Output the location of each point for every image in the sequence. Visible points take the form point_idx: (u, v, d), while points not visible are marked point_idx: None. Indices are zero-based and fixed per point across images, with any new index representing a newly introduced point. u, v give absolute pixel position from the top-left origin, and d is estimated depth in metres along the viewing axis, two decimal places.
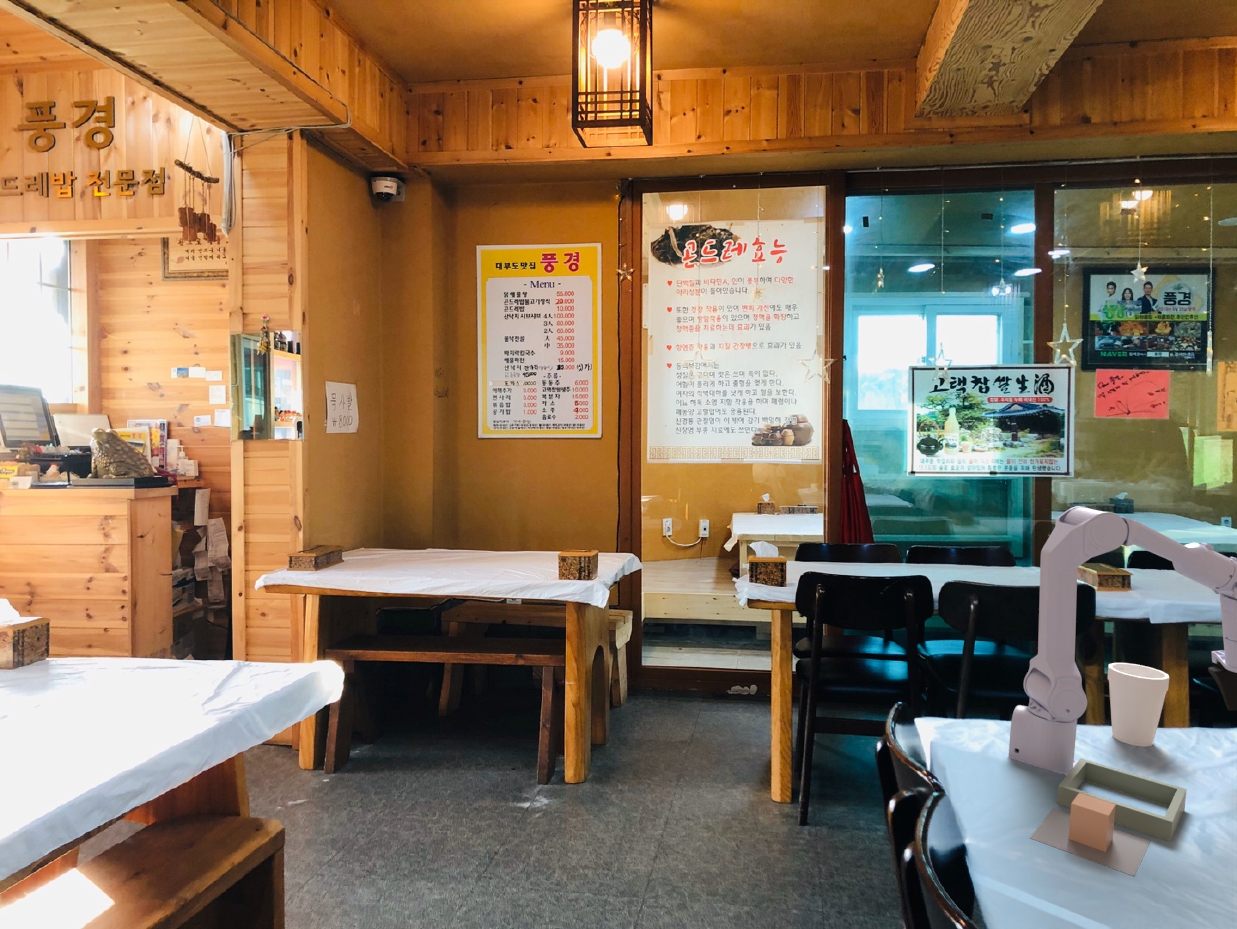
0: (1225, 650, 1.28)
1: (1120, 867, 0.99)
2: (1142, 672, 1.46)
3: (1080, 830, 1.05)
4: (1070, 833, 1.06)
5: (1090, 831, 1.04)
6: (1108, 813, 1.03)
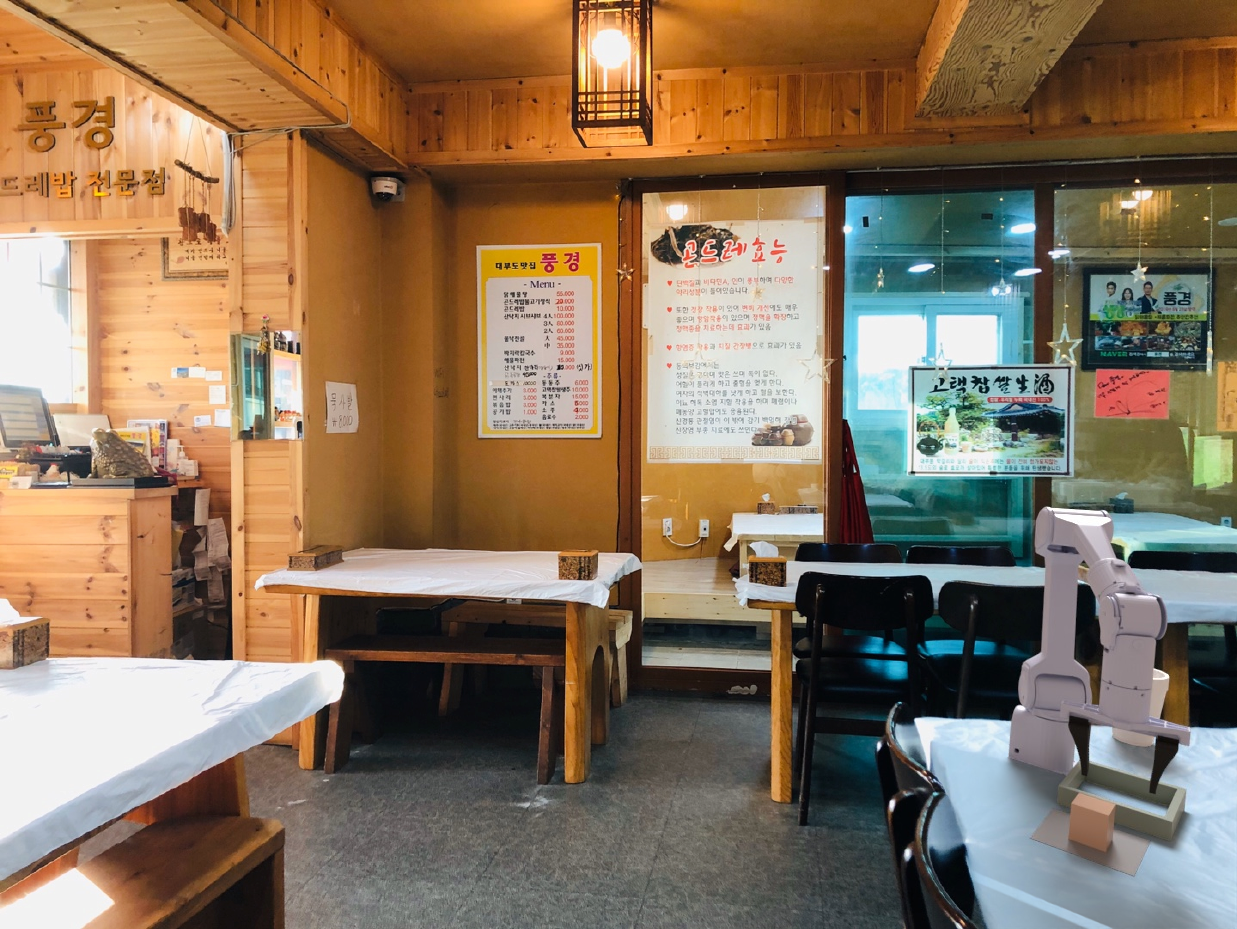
0: None
1: (1120, 867, 0.99)
2: None
3: (1080, 830, 1.05)
4: (1070, 833, 1.06)
5: (1090, 831, 1.04)
6: (1108, 813, 1.03)
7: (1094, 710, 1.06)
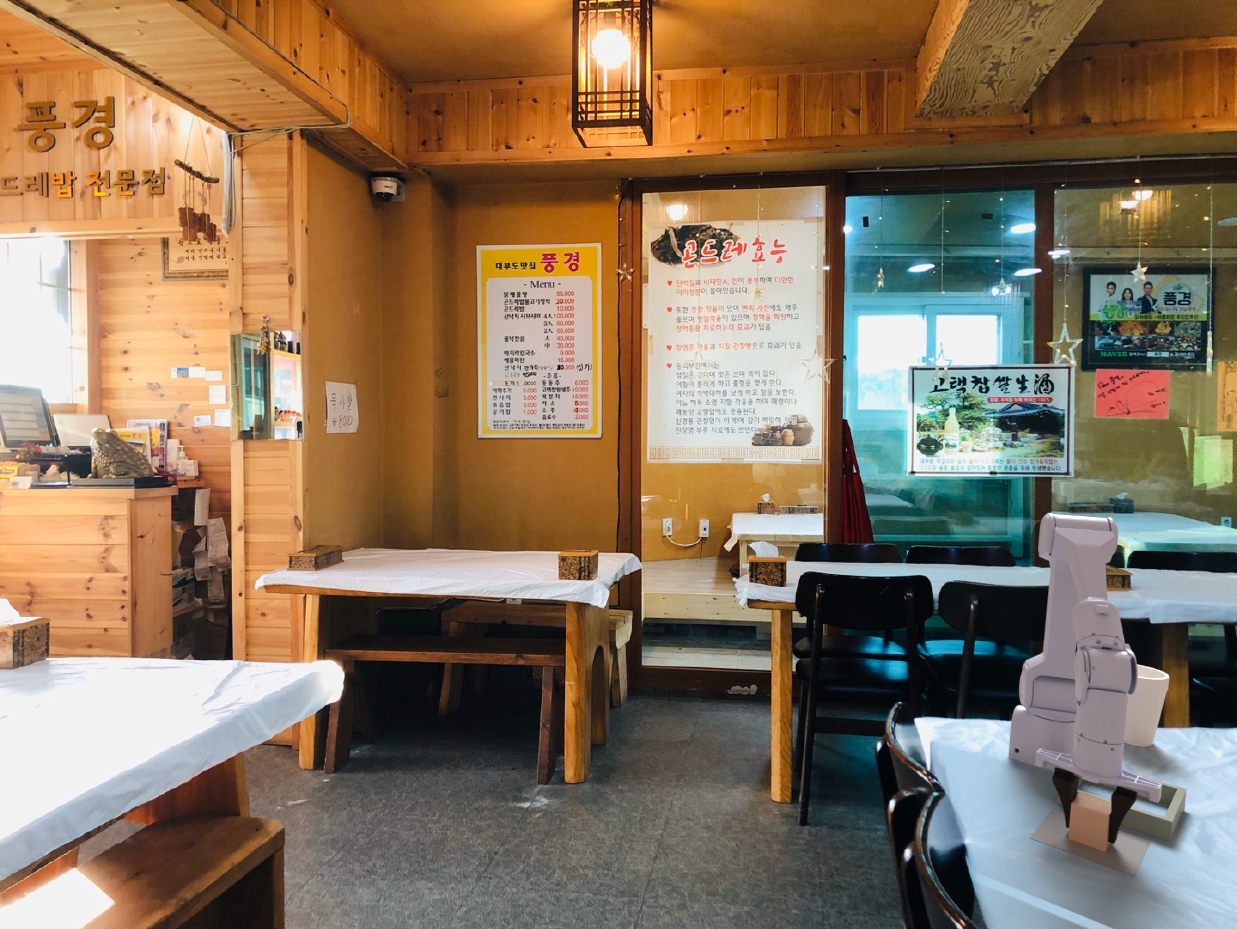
0: None
1: (1120, 867, 0.99)
2: (1142, 672, 1.46)
3: (1080, 830, 1.05)
4: (1070, 833, 1.06)
5: (1090, 831, 1.04)
6: (1108, 813, 1.03)
7: (1068, 761, 1.07)
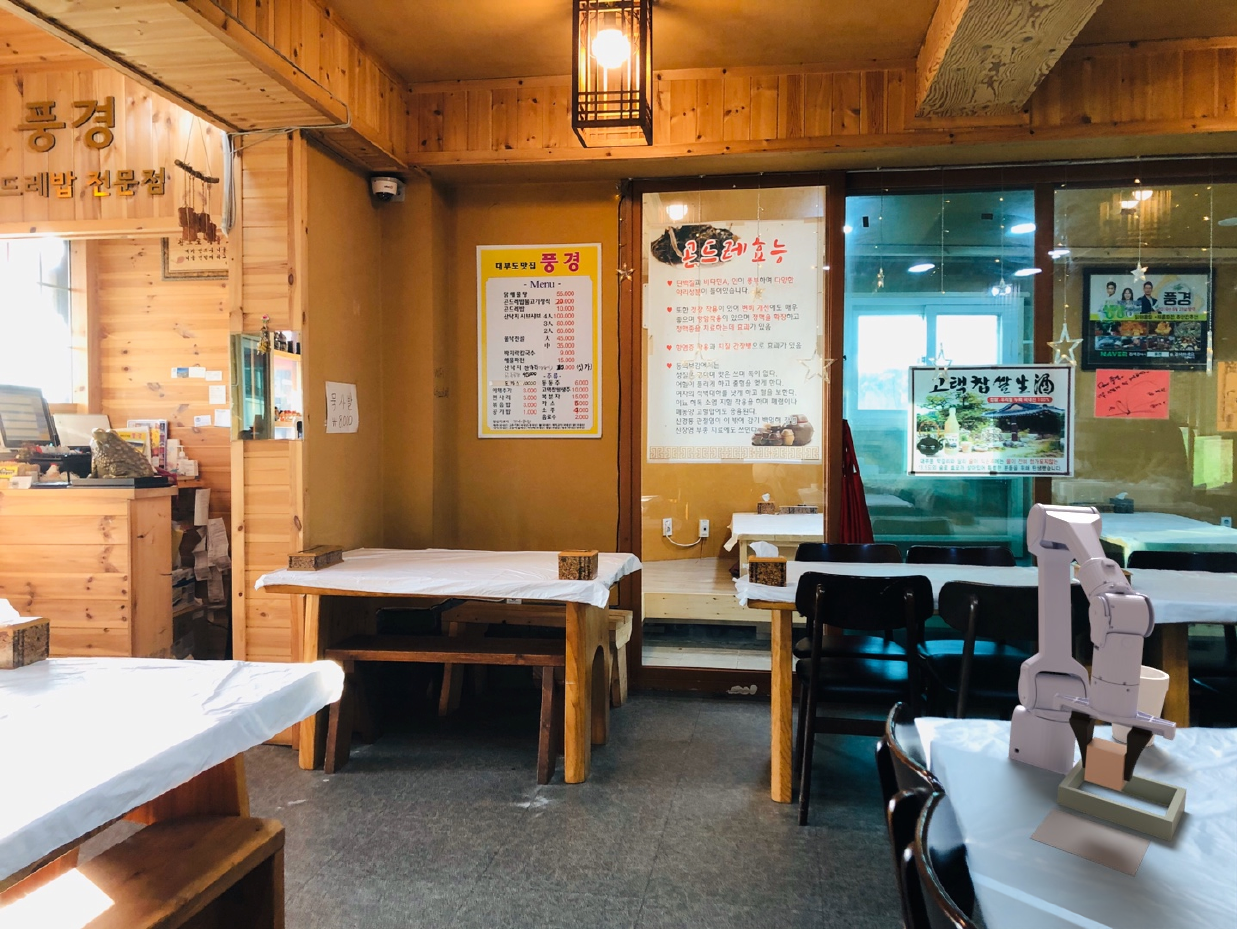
0: None
1: (1120, 867, 0.99)
2: (1142, 672, 1.46)
3: (1095, 771, 1.08)
4: (1086, 775, 1.09)
5: (1106, 771, 1.07)
6: (1123, 754, 1.07)
7: (1085, 703, 1.11)
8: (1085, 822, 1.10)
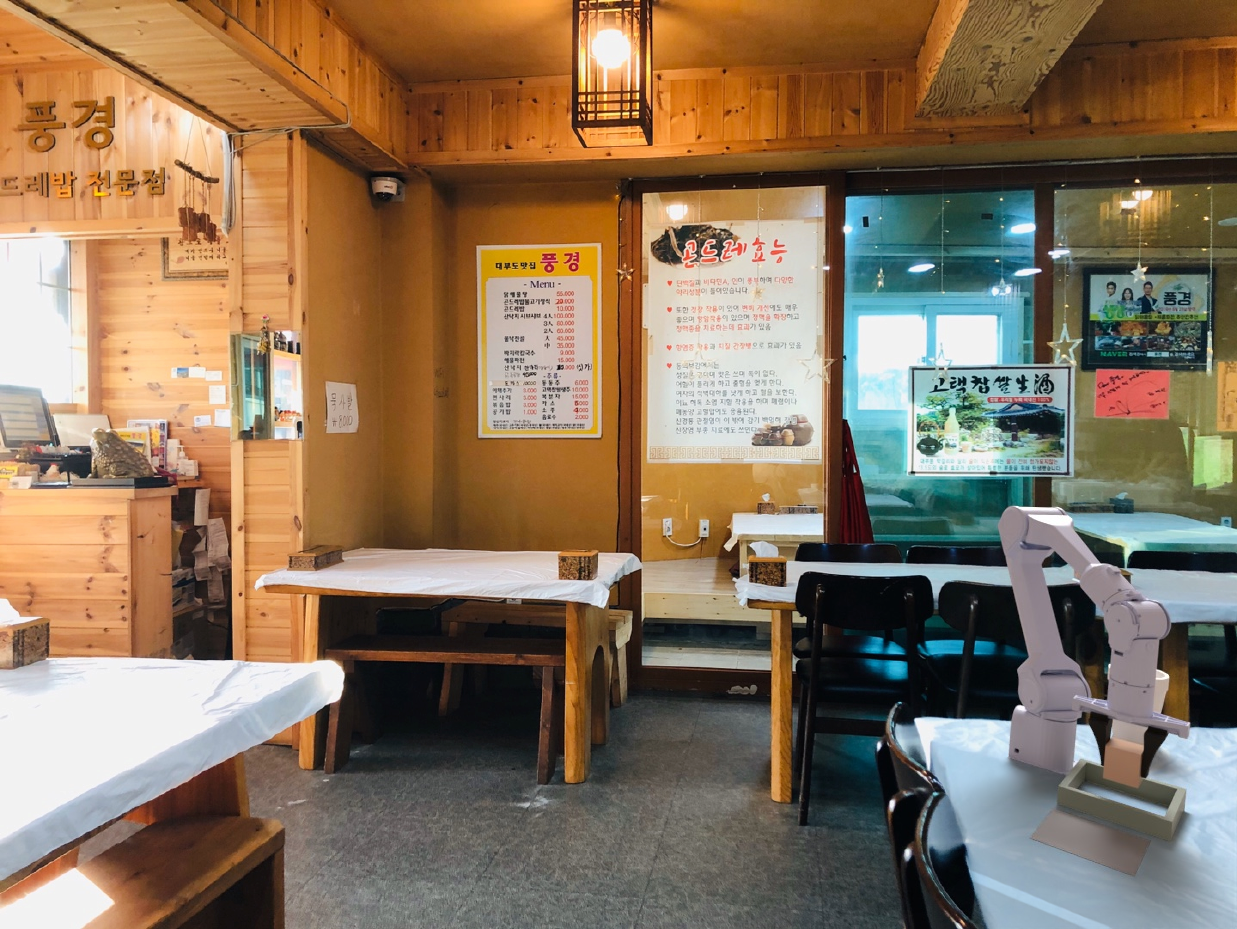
0: None
1: (1120, 867, 0.99)
2: None
3: (1113, 769, 1.14)
4: (1105, 773, 1.15)
5: (1123, 769, 1.14)
6: (1140, 753, 1.13)
7: (1103, 705, 1.17)
8: (1085, 822, 1.10)
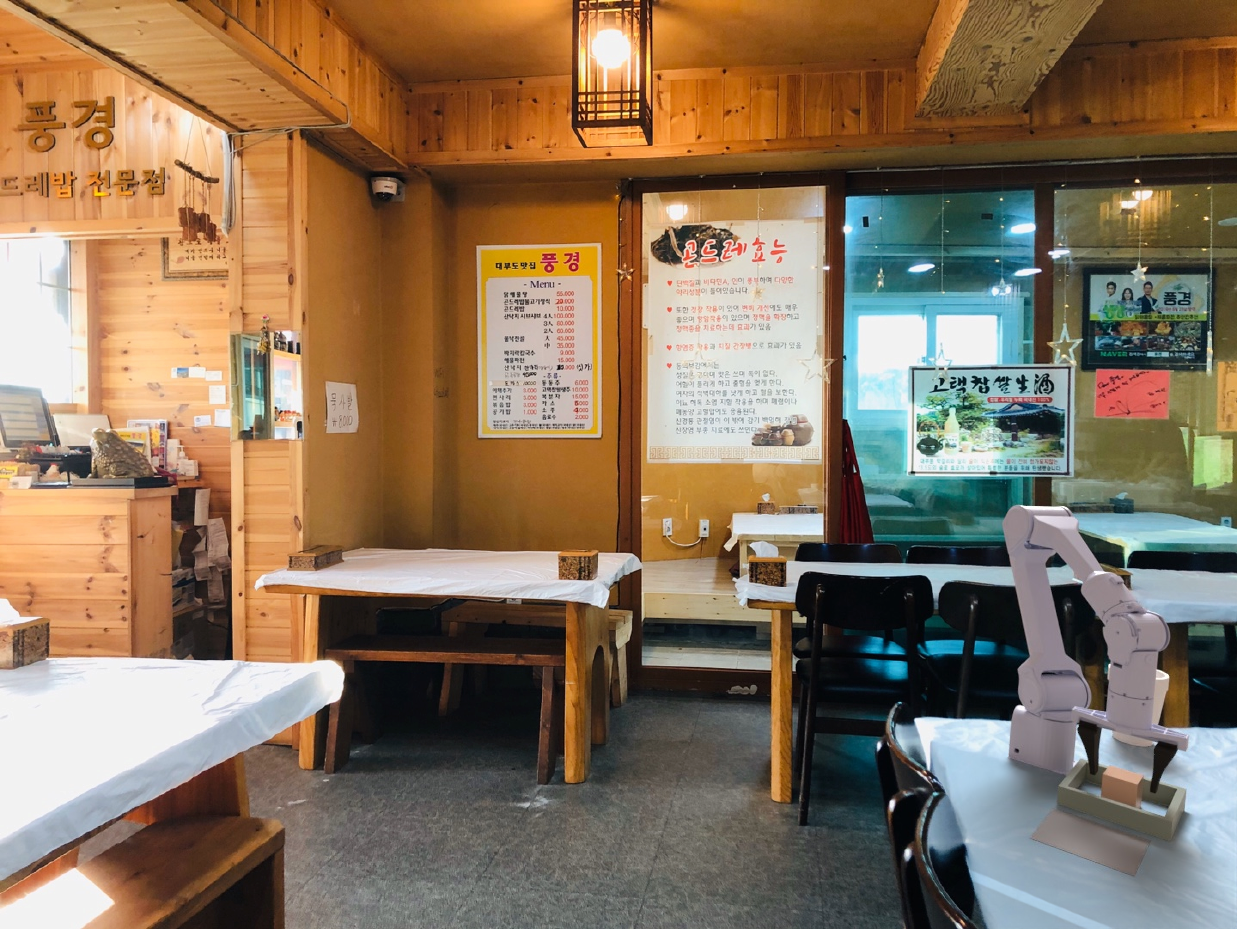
0: None
1: (1120, 867, 0.99)
2: None
3: (1110, 798, 1.15)
4: None
5: (1120, 798, 1.14)
6: (1137, 782, 1.13)
7: (1102, 716, 1.18)
8: (1085, 822, 1.10)
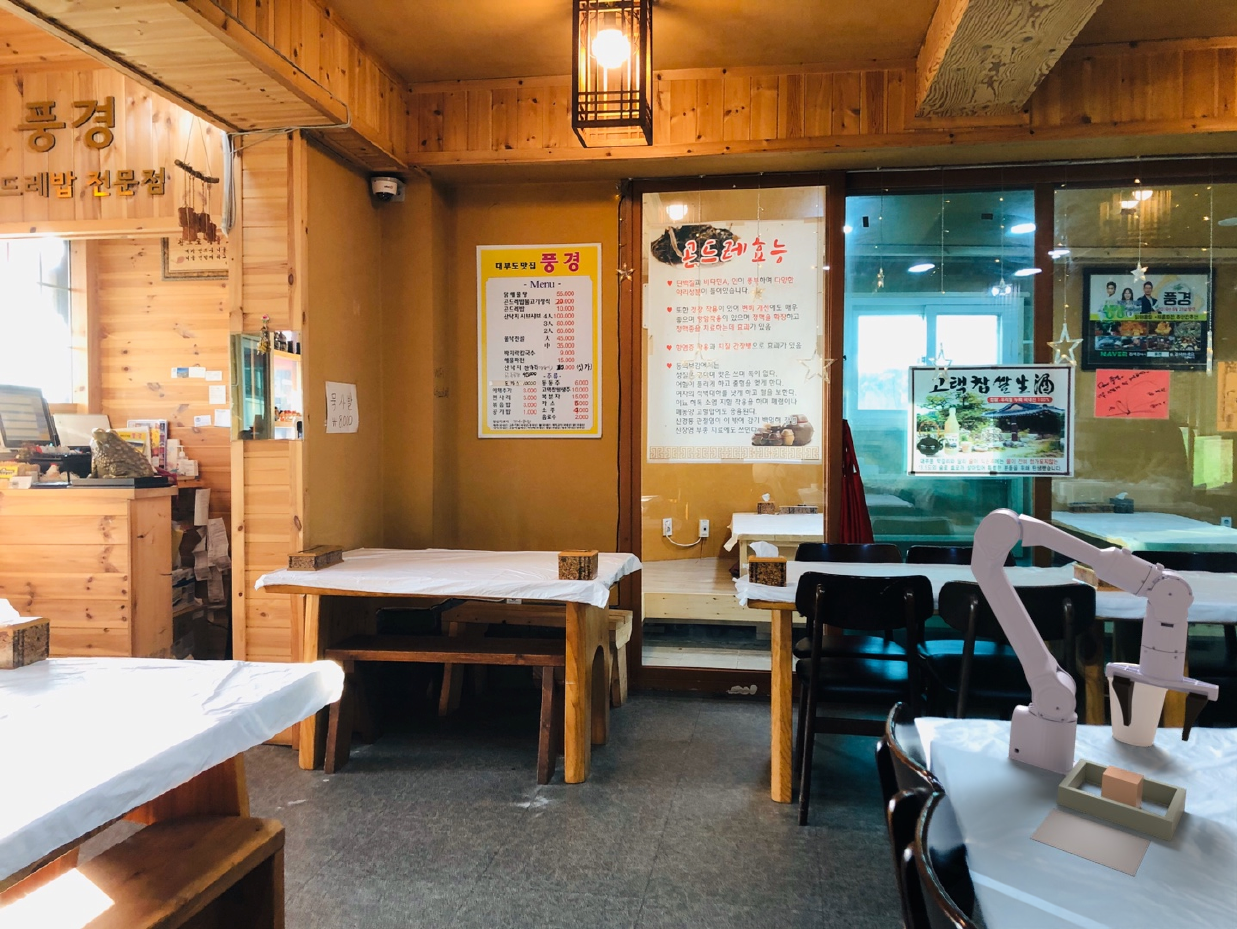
0: None
1: (1120, 867, 0.99)
2: None
3: (1110, 798, 1.15)
4: None
5: (1120, 798, 1.14)
6: (1137, 782, 1.13)
7: (1135, 671, 1.25)
8: (1085, 822, 1.10)
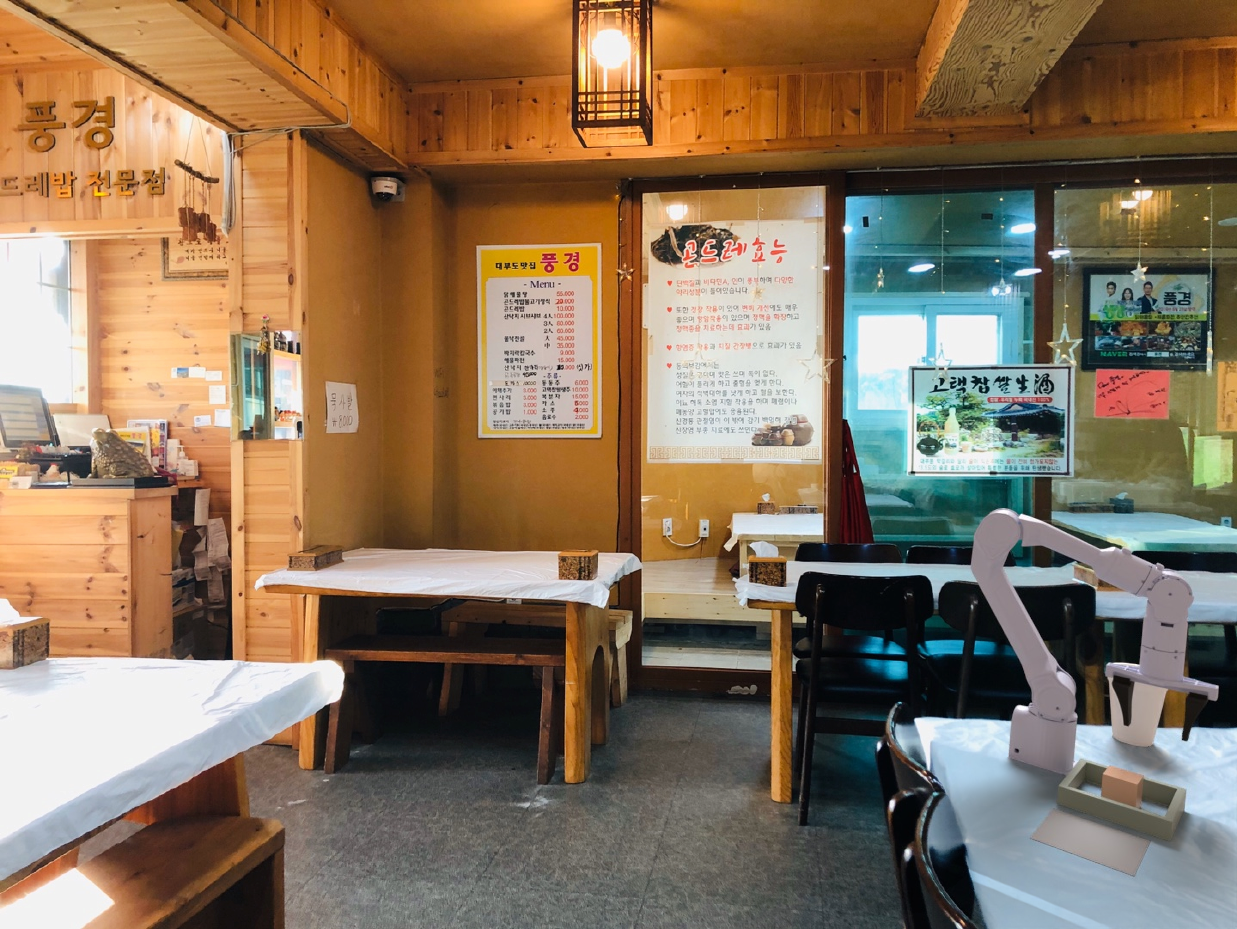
0: None
1: (1120, 867, 0.99)
2: None
3: (1110, 798, 1.15)
4: None
5: (1120, 798, 1.14)
6: (1137, 782, 1.13)
7: (1135, 671, 1.25)
8: (1085, 822, 1.10)
